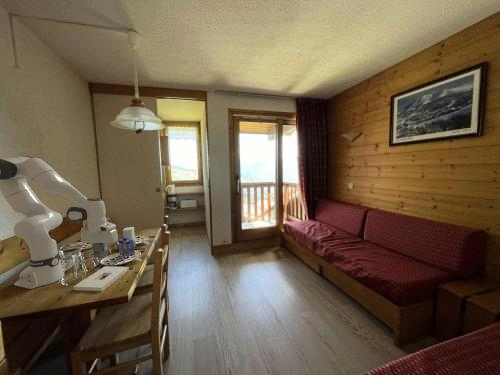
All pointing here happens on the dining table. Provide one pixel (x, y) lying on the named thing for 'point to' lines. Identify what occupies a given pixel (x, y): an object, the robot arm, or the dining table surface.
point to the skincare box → (129, 234)
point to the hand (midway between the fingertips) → (100, 249)
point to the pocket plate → (99, 285)
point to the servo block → (99, 250)
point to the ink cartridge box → (126, 247)
